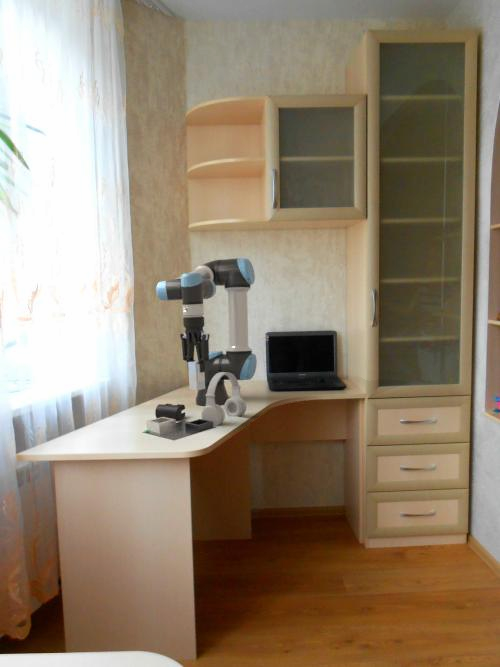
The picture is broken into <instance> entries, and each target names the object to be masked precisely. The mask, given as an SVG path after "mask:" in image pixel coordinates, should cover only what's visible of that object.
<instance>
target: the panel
mask: <svg viewBox="0 0 500 667" xmlns="http://www.w3.org/2000/svg"><path fill="white" fill-rule="evenodd" d="M216 428H217V426H213V421H208V420H203V419H202V418H198V419H194V420H191V421H189V420H184V419H183V420H180V421H177V422H176V419H171V418H166V417H160V418H156V417H155V418H153V419H150V420H149V419H148V420H146V430H144V431H142V432H141V433H143V434H147V435H149V436H150V435H151V436H154V437H158V438H163V439H167V440H171V441H177V440H180V439H183V438H187V437H190V436H192V435H196V434H199V433H202V432H206V431H209V430H212V429H216Z"/></svg>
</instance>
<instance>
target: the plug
mask: <svg viewBox="0 0 500 667" xmlns="http://www.w3.org/2000/svg"><path fill="white" fill-rule="evenodd" d="M197 362H198V360H195V361H192V362H188V363H187V370H188V369H189V371H188V382H189V386H188V387H189V390H191V391H198V390H201V389H205V381H201V382H198V374H197Z"/></svg>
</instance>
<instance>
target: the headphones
mask: <svg viewBox="0 0 500 667" xmlns="http://www.w3.org/2000/svg"><path fill="white" fill-rule="evenodd" d="M223 375H227V376H228V378H229V379H230V380H229V382H230V385H231V396H230V397H229V399H228V400H227V401H226V402H225V404H223V405H224V408H223V407H222V405H221V406H220V405H217V404H215V398H214V397H215V395H214V394H215V389H216V386H217V383H218V381H219V380H220V378H221V377H222V376H223ZM241 388H242V387H241V385H240V384H239V380H237V379H236V377H235V376H234V375H233V374H232V373H228V372H219V373H217V374H216V375H215V376H214V377H213V378H212V380H211V382H210V384H209V386H208V390H207V394H206V395H205V396H206V406H204V407H203V409H202V411H201V419H203V420H208V421H213V426H214V427H217V426H220V425H221V424H223V422H224V421H225V417H226V415H227V416H228V417H238V418H239V417H242V416H244V414H245V413H246V411H247V403H246V401H245V400H244V398H243V397H242V394H241ZM225 414H226V415H225Z"/></svg>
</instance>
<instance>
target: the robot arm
mask: <svg viewBox="0 0 500 667" xmlns="http://www.w3.org/2000/svg"><path fill="white" fill-rule="evenodd" d="M255 276H256V275H255V268H254V266H253V264H252V261H251V260H250V259H248V258H244V257H243V258H241V257H239V258H226V259H215V260H210V261H209V262H206V263H203V264H201V265H199V266H197V267H196V268H195V269H194V270H193V271H190V272H188V273H187V272H186V273H182V274H181V276H179V277H176V278H174V279H173V278H172V279H171V280H163V281H159V282H158V283H157V285H156V287H155V288H156V289H155V290H156V297H157V298H158V299H159V300H160V301H168V302H169V301H181V300H182V316H183V318H182V320H183V321H182V323H183V325H182V326H183V328H185V330H184V332H183V333H180V335H179V336H180V340H181V348H182V349H181V350H182V351H181V352H182V360H183V361H185V362H187V363H186V364H188V362H192V361H196V360H195V359H194V357H195V352H196V356H197V361H198V362H197V374H198V382H201V381H205V389H201V390H197V394H196V397H195V404H196V405H198V406H203V407H205V406H206V396H205V395H206V394H207V390H208V386H209V384H210V382H211V380H212V378H213V377H214V376H215V375H216V374H217V373H219V372H228V373H232V374H233V375H234V376H235V377H236V379H237V381H249V380H251V379H252V378H254V376H255V373H256V370H257V364H258V362H257V361H258V359H257V355H256V354H255V353H253V350H252V348H251V347H250V346H249V320H248V318H249V316H248V315H249V314H248V312H249V310H248V308H249V306H248V292H249V291H250V290H251V285H253V284H255V279H256V277H255ZM216 286H218V287H219V286H223V287H224V290H225V292H226V293H227V301H228V302H227V304H228V305H227V307H228V310H227V311H228V343H229V344H228V347H227V349H226V350H225V353H224V351H223V350H215V351H209V349H210V342H209V340H210V337H211V336H210V335H211V334H210V333H205V331H204V329H203V328H204V327H205V317H204V316H203V315H205V311H204V310H205V308H204V300H209V299H211V298H213V297H214V296H215V295H216V292H217V287H216ZM187 371H188V372H189V369H188V368H187ZM225 381H230V379H229V378H228V376H227V375H223V376H222V377H221V378H220V380H219V381H218V383H217V386H216V389H215V394H214V395H215V397H214V398H215V404H217V405H219V406H220V405H221V406H222V405H225V402H226V401H227V400H228V399H229V398H230V397H229V395H228V392H227V388H226V385H225Z"/></svg>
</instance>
